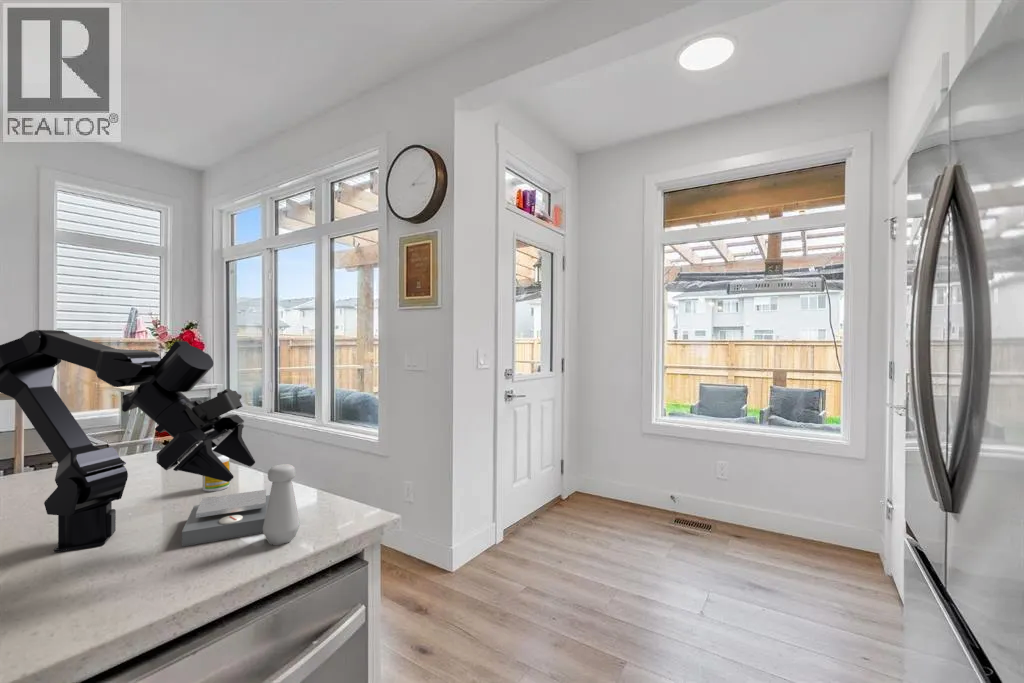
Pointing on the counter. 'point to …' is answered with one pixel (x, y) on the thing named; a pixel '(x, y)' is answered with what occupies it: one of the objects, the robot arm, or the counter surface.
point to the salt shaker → (281, 506)
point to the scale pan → (231, 503)
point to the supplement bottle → (216, 484)
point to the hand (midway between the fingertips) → (242, 471)
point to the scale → (223, 525)
